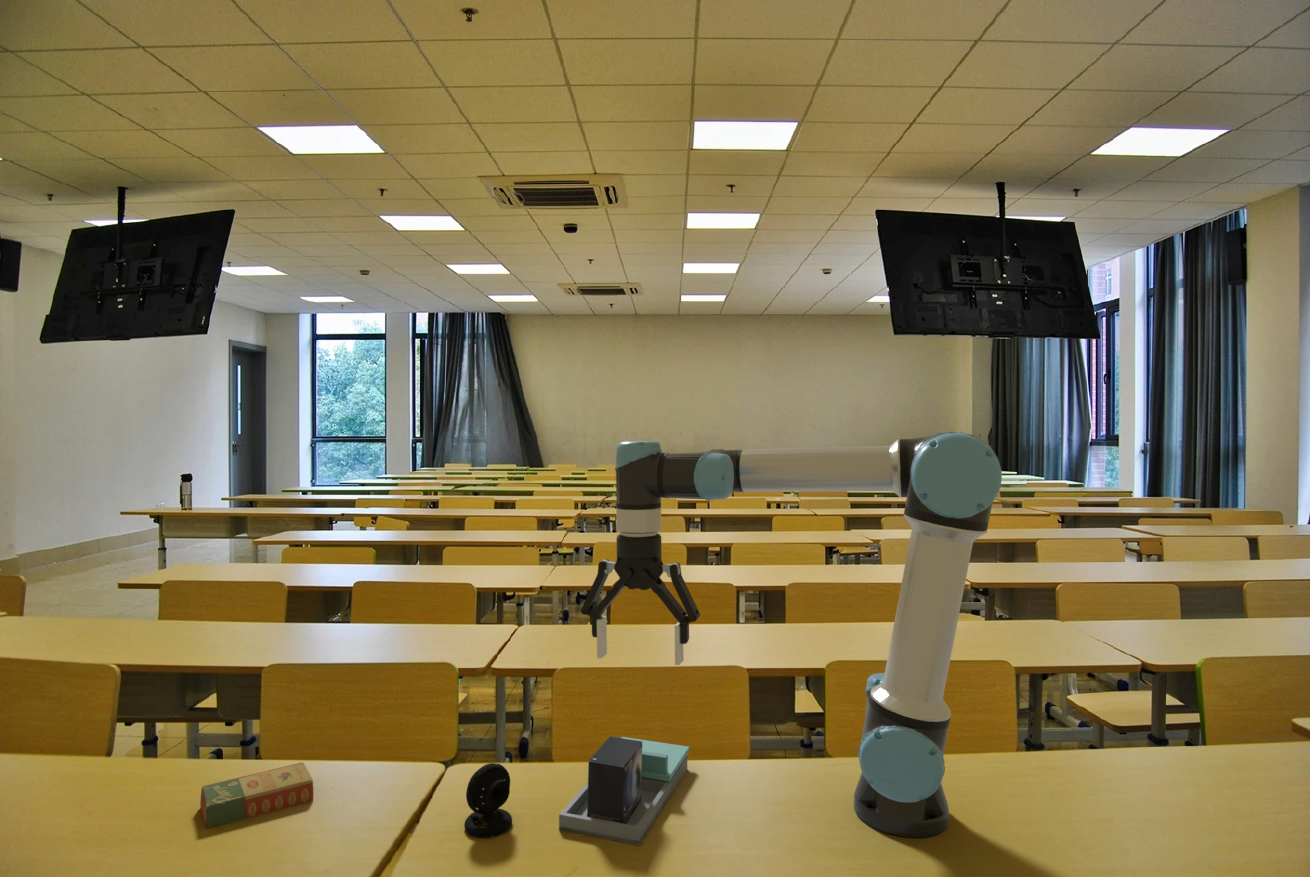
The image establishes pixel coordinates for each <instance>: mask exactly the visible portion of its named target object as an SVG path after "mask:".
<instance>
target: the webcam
mask: <svg viewBox="0 0 1310 877" xmlns="http://www.w3.org/2000/svg"><path fill="white" fill-rule="evenodd" d="M510 788H511V777H510V774H509V772H508V770H507V768H505V766H504V765H503V764H500V763H493V762H491V763H487V764H484V765H482V766H481V767H480V768H478V769H477V770H476V771H475V772H474V773H473V774H472V776H471V777H470V779H469V781H468V784H467V787H466V792H465V797H466V802H467V806H468V807H469V808H470V810H471V811H472V813H470V814H469V815H468V816H467V817H466V819H465V820H464V826H463V827H464V831H465V832H466V833H467V834H469V835H470V836H472V837H475V838H480V839H482V838H484V839H486V838H495V837H498V836H500V835H503V834H504V833H506V832H507V831H509V829H511V826H512V824H513V818H512V815H511V813H510V812H509V811H508V810H505V809H502V808H501V807H502V806H503V805H505V803H506V802H507V800H508V799H509V796H510V790H511V789H510ZM478 821H481V822H482V823H484V824H485V825H486V827H482V826H481V827H480V826H477V825H475V823H476V822H478Z"/></svg>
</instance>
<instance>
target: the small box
mask: <svg viewBox="0 0 1310 877" xmlns="http://www.w3.org/2000/svg"><path fill="white" fill-rule="evenodd" d="M587 768H588V769H587V771H588V772H587V778H588V779H587V782H588V807H587V817H591V818H596V819H602V820H607V821H612V822H618V823H623V824H626V823H627V821H628V820H629V818H630V817H631V815H632V814H633V812H634V811H635V809H636V807H637V806H638V804H639V803H640V801H641V782H642V741H637V740H630V739H624V738H621V737H619V736H617V737H616V736H608V738H607V739H606V740H605V742H603V744H602V745H601V746H600V747H599V748H598V749H597V750H596V752H595V753H594V754H593V755H592V756H591V757H590V759H588V766H587Z"/></svg>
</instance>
